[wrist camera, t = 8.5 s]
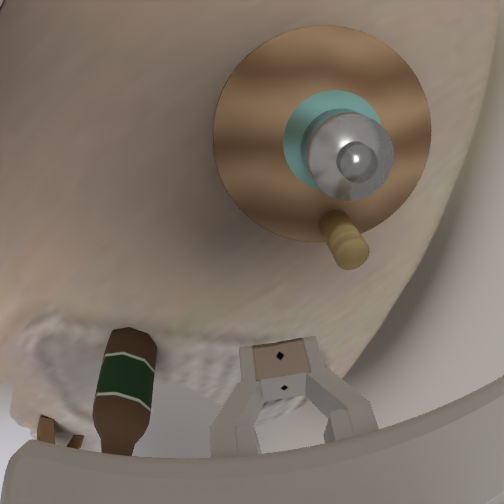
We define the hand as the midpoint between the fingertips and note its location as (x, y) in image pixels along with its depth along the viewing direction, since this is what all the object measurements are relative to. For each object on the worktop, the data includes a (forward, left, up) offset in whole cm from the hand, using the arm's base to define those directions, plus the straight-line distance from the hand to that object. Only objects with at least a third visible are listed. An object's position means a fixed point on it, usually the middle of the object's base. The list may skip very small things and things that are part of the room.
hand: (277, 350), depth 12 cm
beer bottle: (+23, -19, -20) cm, 36 cm away
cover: (-2, +8, -16) cm, 18 cm away
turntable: (-3, +8, -18) cm, 20 cm away
